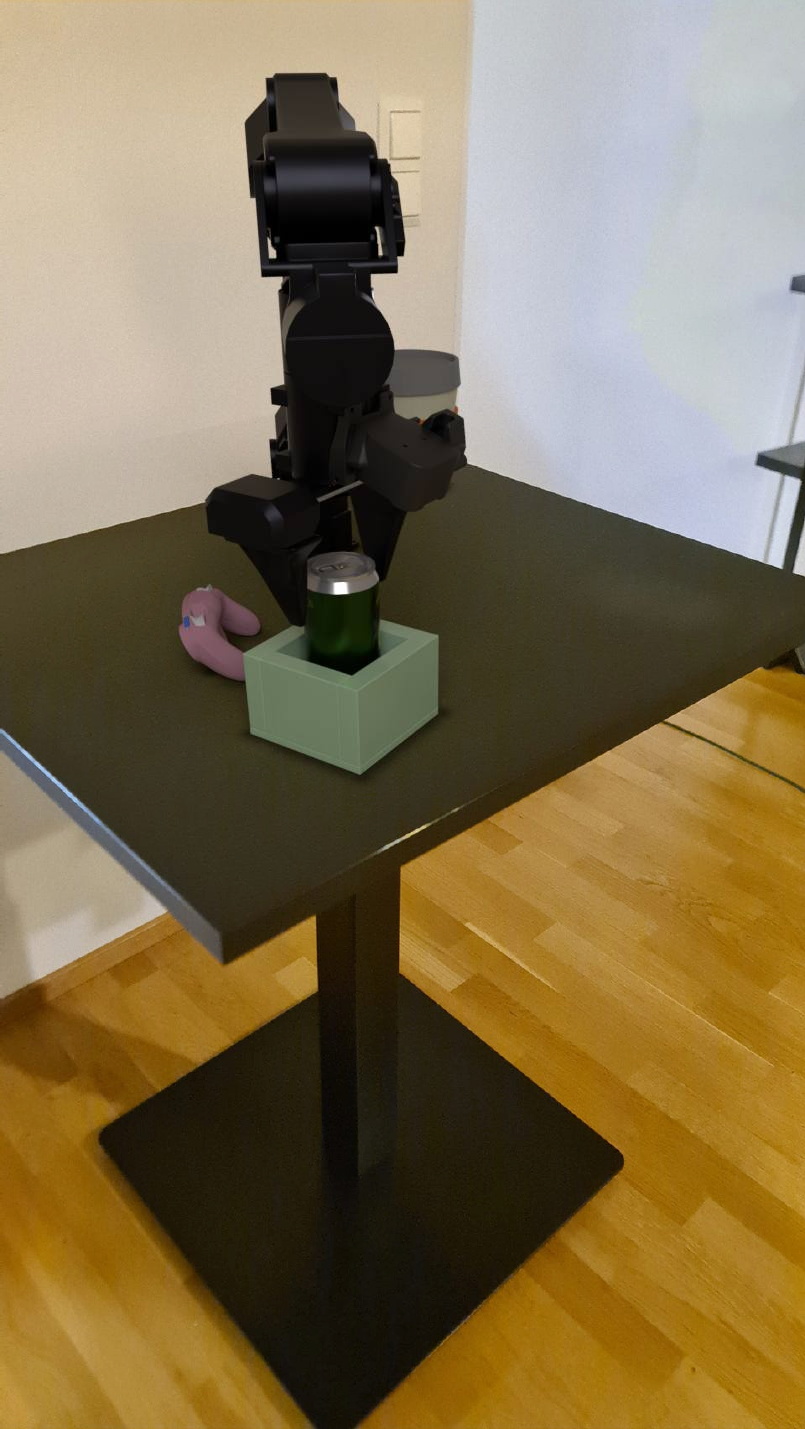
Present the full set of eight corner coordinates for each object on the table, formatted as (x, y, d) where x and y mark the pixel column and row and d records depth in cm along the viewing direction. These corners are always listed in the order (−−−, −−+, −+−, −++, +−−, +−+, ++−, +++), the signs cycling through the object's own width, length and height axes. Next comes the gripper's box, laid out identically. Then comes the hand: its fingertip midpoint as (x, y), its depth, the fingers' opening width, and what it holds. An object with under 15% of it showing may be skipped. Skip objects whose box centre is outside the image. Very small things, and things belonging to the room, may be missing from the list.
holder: (250, 733, 75) (242, 653, 72) (333, 679, 82) (329, 604, 79) (360, 775, 70) (357, 691, 67) (438, 713, 77) (439, 635, 74)
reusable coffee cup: (461, 472, 130) (463, 349, 123) (456, 503, 119) (458, 371, 112) (363, 470, 131) (360, 348, 124) (350, 501, 121) (345, 370, 113)
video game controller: (220, 649, 90) (176, 585, 87) (265, 625, 90) (222, 560, 86) (212, 703, 82) (162, 635, 79) (261, 678, 81) (213, 608, 78)
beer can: (332, 743, 73) (323, 586, 67) (297, 711, 76) (286, 561, 70) (396, 721, 75) (393, 568, 69) (358, 692, 79) (353, 545, 73)
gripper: (342, 418, 53) (352, 685, 60) (517, 357, 66) (507, 582, 74) (185, 392, 58) (214, 640, 66) (376, 341, 71) (381, 552, 79)
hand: (339, 601), depth 71 cm, fingers open, 9 cm apart
